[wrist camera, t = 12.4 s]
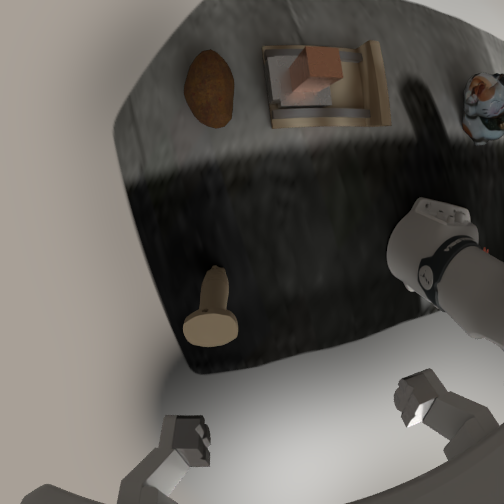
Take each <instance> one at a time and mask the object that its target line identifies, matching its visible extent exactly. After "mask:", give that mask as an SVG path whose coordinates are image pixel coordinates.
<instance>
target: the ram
mask: <svg viewBox="0 0 504 504" xmlns="http://www.w3.org/2000/svg"><path fill="white" fill-rule="evenodd" d="M264 71H265V78H266V86H267V94H268V102H269V105H271V104H277V105H278V109H283V108H311V107H328V106H331V105H332V100H331V92H330V85H332V84H333V83H335V82H337V81H339V80H341V79H342V78H343V72H342V66H341V60H340V54H339V49H338V48H330V47H313V46H305V48H304V49H303V50H302V51H301V53H300V54H299V55H298V56H274V57H267V60H266V62H265V65H264Z"/></svg>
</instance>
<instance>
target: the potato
mask: <svg viewBox="0 0 504 504" xmlns="http://www.w3.org/2000/svg"><path fill="white" fill-rule="evenodd" d="M184 96H185V99H186V101H187V103H188V105H189V107H190V109H191V111H192V113H193V115H194V116H195V117H196V118H197V119H198V120H199V121H200V122H201V123H203V124H205V125H206V126H209V127H212V128H220V127H225V125H226V124H227V123H228V122H229V121H230V120H231V119H232V111H233V96H234V79H233V75H232V73H231V70H230V68H229V66H228V64H227V63H226V62H225V60H224V59H223V58H222V57H221V56H220V55H219V54H218V53H217V52H215V51H213V50H211V49H210V50H206V51H202V52H201V53H200V54H199V55H198V56H197V57H196V58H195V59H194V61H193V63H192V64H191V66H190V68H189V72H188V75H187V78H186V82H185V85H184Z"/></svg>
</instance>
